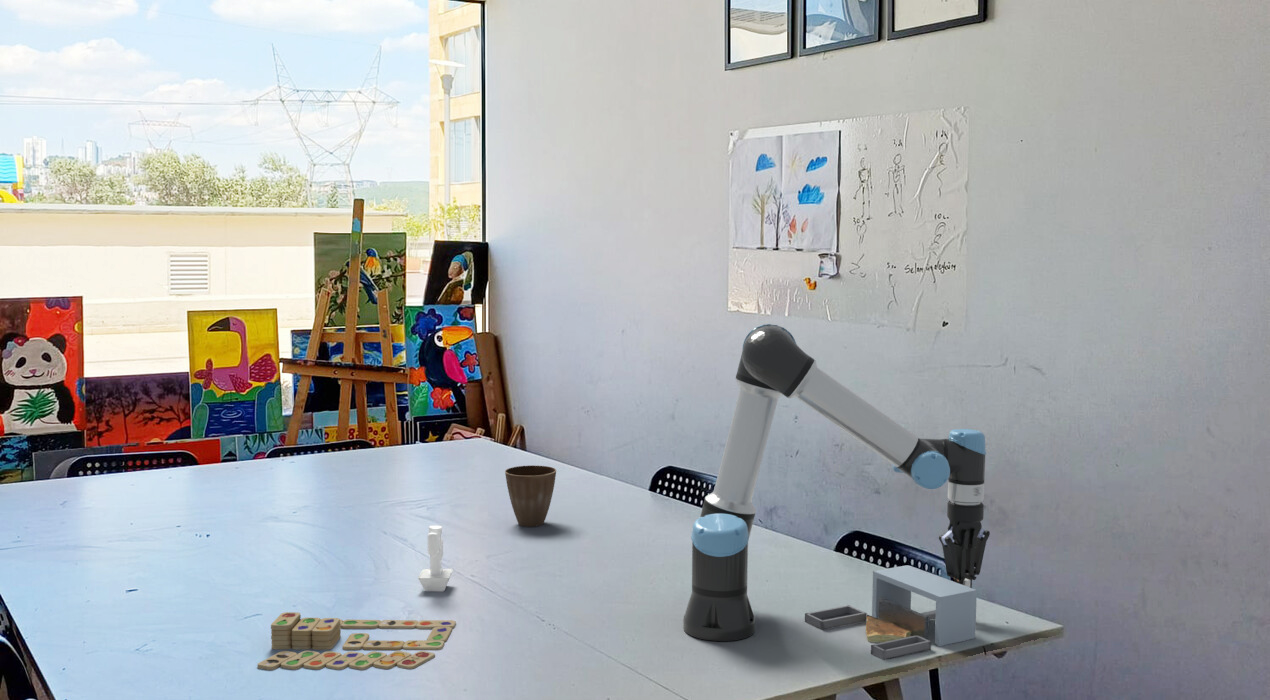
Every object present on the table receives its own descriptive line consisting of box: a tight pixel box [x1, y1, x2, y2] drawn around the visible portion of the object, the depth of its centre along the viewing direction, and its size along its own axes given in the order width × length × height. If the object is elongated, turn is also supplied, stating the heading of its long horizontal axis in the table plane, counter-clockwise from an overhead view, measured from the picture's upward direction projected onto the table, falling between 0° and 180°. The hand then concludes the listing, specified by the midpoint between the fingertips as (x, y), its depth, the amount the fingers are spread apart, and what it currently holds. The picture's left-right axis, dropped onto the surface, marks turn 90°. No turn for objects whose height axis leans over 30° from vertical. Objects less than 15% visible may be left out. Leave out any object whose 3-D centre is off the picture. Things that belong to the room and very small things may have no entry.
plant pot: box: [504, 464, 557, 528], centre depth 318 cm, size 15×15×16 cm
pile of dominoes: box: [257, 611, 457, 671], centre depth 220 cm, size 35×27×6 cm
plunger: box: [878, 598, 936, 640], centre depth 232 cm, size 16×14×6 cm
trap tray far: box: [804, 604, 868, 631], centre depth 235 cm, size 12×6×2 cm, turn 118°
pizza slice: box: [865, 614, 911, 643], centre depth 228 cm, size 13×9×2 cm
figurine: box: [417, 525, 454, 592], centre depth 256 cm, size 7×9×15 cm
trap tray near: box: [870, 635, 932, 661], centre depth 217 cm, size 12×4×2 cm, turn 118°
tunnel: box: [871, 565, 978, 647], centre depth 231 cm, size 10×20×10 cm, turn 28°
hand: (962, 607), depth 236 cm, fingers closed
